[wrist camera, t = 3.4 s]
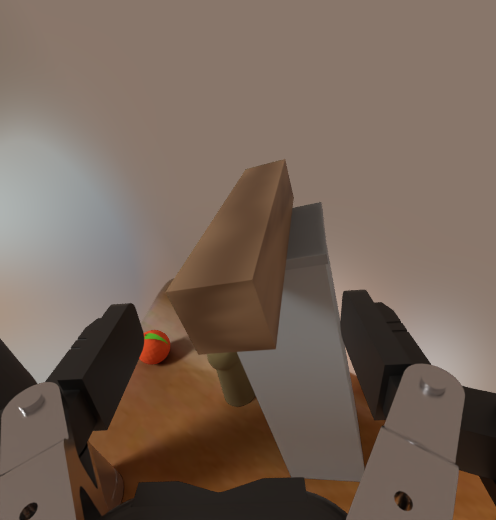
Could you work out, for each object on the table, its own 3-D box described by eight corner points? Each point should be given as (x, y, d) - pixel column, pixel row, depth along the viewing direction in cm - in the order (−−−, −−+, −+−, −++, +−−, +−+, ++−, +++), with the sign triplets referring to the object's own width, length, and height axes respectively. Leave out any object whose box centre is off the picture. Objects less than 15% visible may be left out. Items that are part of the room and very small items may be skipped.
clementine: (185, 346, 64) (172, 322, 61) (169, 373, 59) (153, 348, 55) (156, 345, 67) (142, 322, 64) (138, 370, 62) (122, 347, 59)
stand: (289, 479, 37) (198, 273, 22) (293, 408, 45) (227, 221, 30) (368, 484, 34) (326, 253, 19) (357, 408, 42) (321, 202, 27)
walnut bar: (198, 354, 15) (165, 291, 13) (256, 205, 31) (246, 169, 29) (275, 349, 14) (252, 279, 12) (293, 197, 30) (285, 159, 28)
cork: (263, 379, 51) (245, 334, 46) (247, 411, 47) (225, 365, 42) (235, 371, 54) (215, 328, 49) (217, 400, 50) (194, 357, 45)
